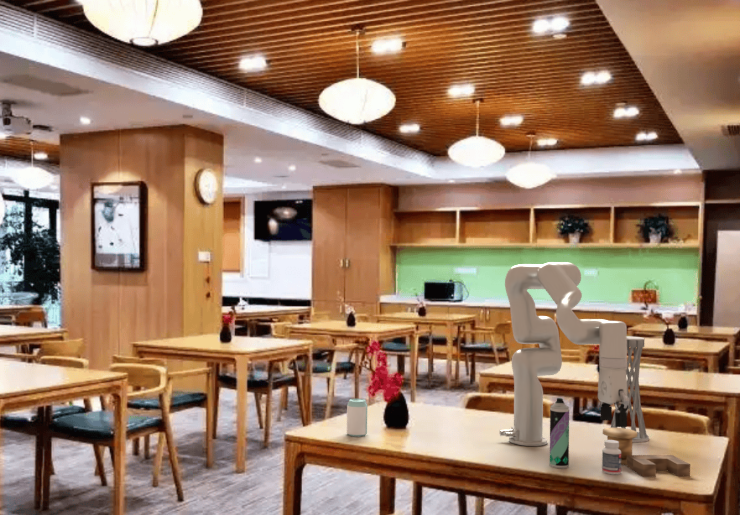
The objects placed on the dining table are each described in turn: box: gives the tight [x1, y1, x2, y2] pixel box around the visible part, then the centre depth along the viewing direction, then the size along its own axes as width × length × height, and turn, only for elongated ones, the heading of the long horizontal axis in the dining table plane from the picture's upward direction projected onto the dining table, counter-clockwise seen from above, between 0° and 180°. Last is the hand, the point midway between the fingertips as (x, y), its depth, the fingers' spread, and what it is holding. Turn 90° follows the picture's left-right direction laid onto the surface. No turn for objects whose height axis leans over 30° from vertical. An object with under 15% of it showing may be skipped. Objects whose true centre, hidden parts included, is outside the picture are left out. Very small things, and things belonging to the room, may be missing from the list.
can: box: [346, 398, 368, 437], centre depth 245 cm, size 7×7×12 cm
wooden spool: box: [602, 427, 638, 466], centre depth 217 cm, size 10×10×9 cm
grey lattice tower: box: [610, 336, 650, 443], centre depth 249 cm, size 14×13×35 cm
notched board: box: [626, 454, 691, 478], centre depth 206 cm, size 14×10×4 cm
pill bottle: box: [601, 439, 622, 475], centre depth 204 cm, size 5×5×9 cm
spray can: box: [549, 397, 570, 469], centre depth 210 cm, size 6×6×20 cm
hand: (613, 423), depth 204 cm, fingers open, 9 cm apart
